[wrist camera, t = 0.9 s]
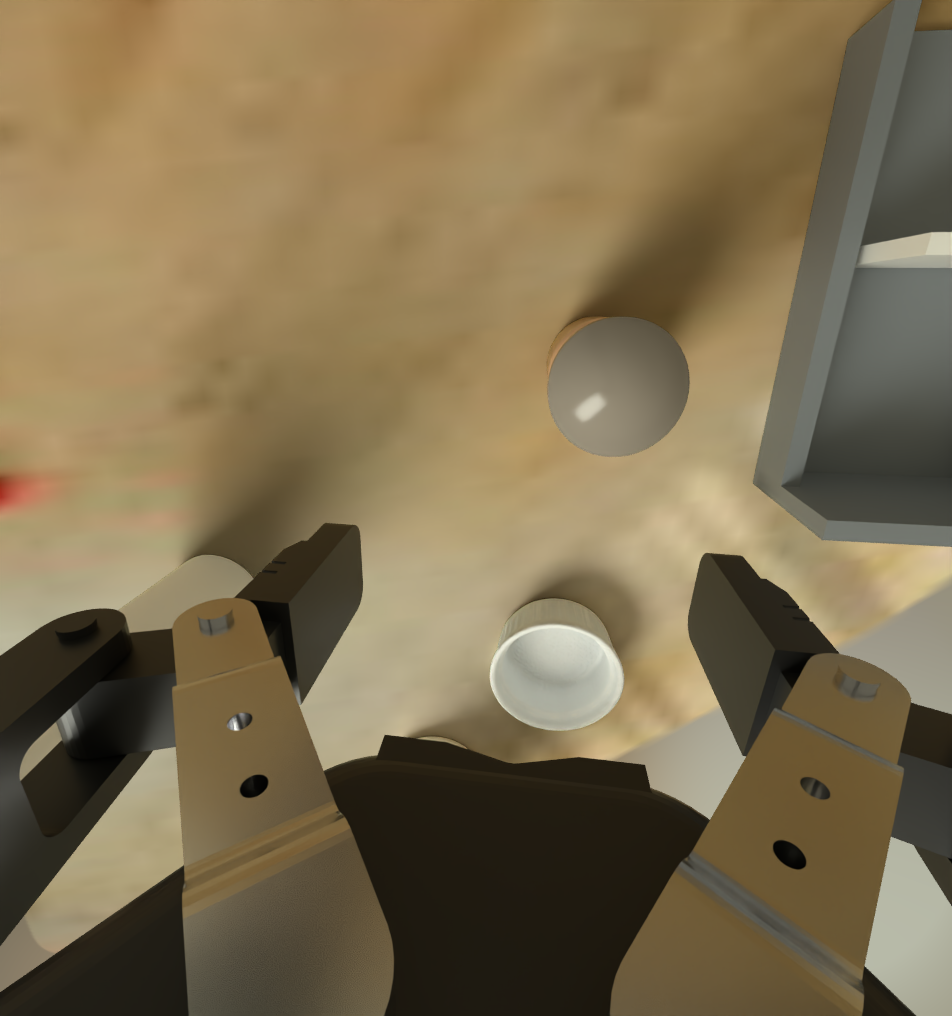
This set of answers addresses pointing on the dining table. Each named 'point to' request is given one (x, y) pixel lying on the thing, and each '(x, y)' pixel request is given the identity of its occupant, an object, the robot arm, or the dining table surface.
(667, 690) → the dining table surface
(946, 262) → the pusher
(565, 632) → the ramekin
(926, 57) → the lane
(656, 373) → the jar
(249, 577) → the cylindrical container
